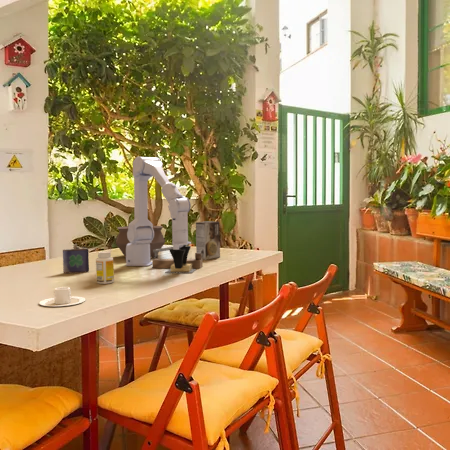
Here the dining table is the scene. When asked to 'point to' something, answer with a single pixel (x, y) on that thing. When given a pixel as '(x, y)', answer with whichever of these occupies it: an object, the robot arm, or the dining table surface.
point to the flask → (75, 260)
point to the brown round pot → (155, 243)
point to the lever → (160, 251)
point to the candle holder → (62, 297)
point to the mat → (180, 272)
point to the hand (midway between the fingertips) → (180, 266)
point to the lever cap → (184, 268)
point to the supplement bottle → (104, 268)
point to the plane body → (168, 262)
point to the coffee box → (208, 239)
